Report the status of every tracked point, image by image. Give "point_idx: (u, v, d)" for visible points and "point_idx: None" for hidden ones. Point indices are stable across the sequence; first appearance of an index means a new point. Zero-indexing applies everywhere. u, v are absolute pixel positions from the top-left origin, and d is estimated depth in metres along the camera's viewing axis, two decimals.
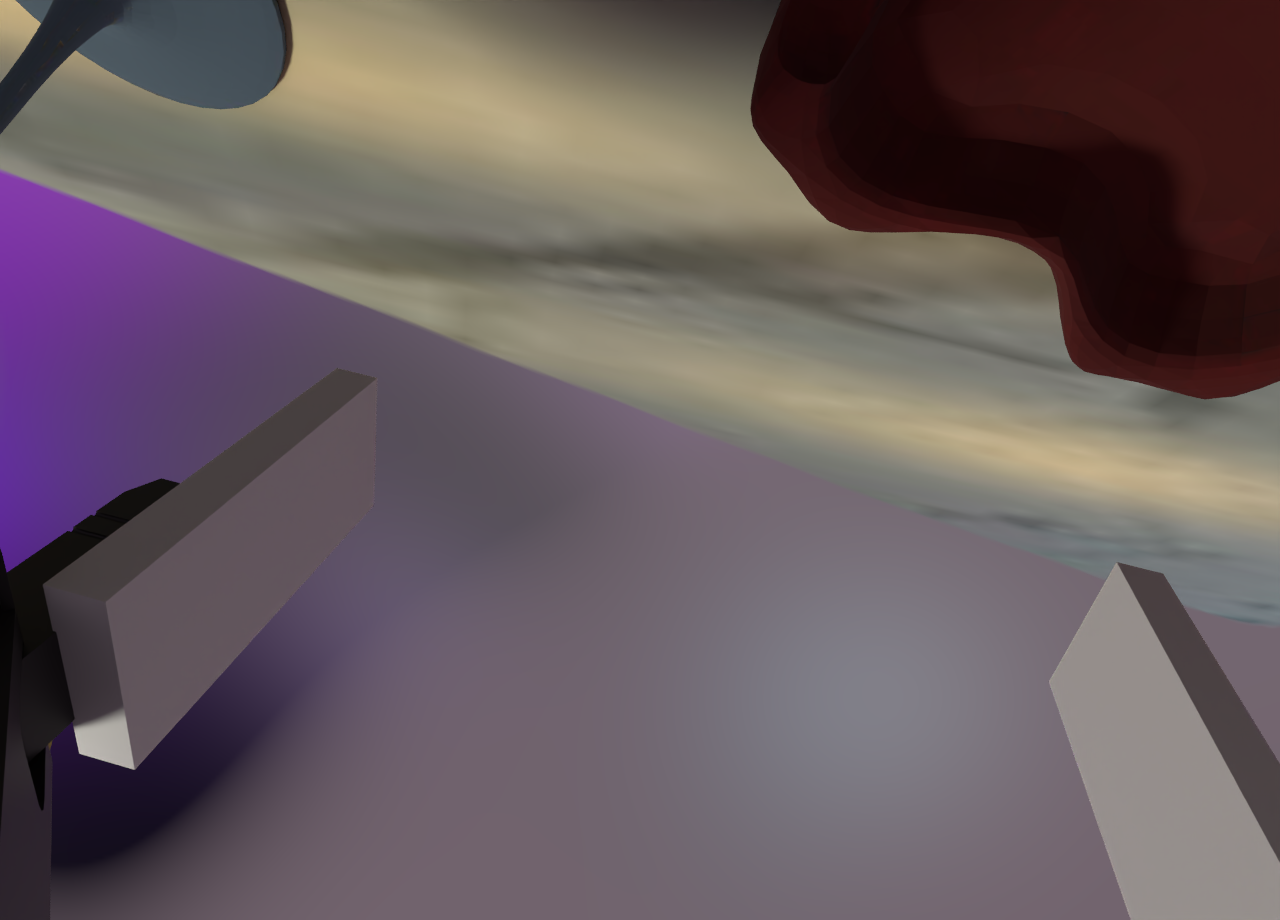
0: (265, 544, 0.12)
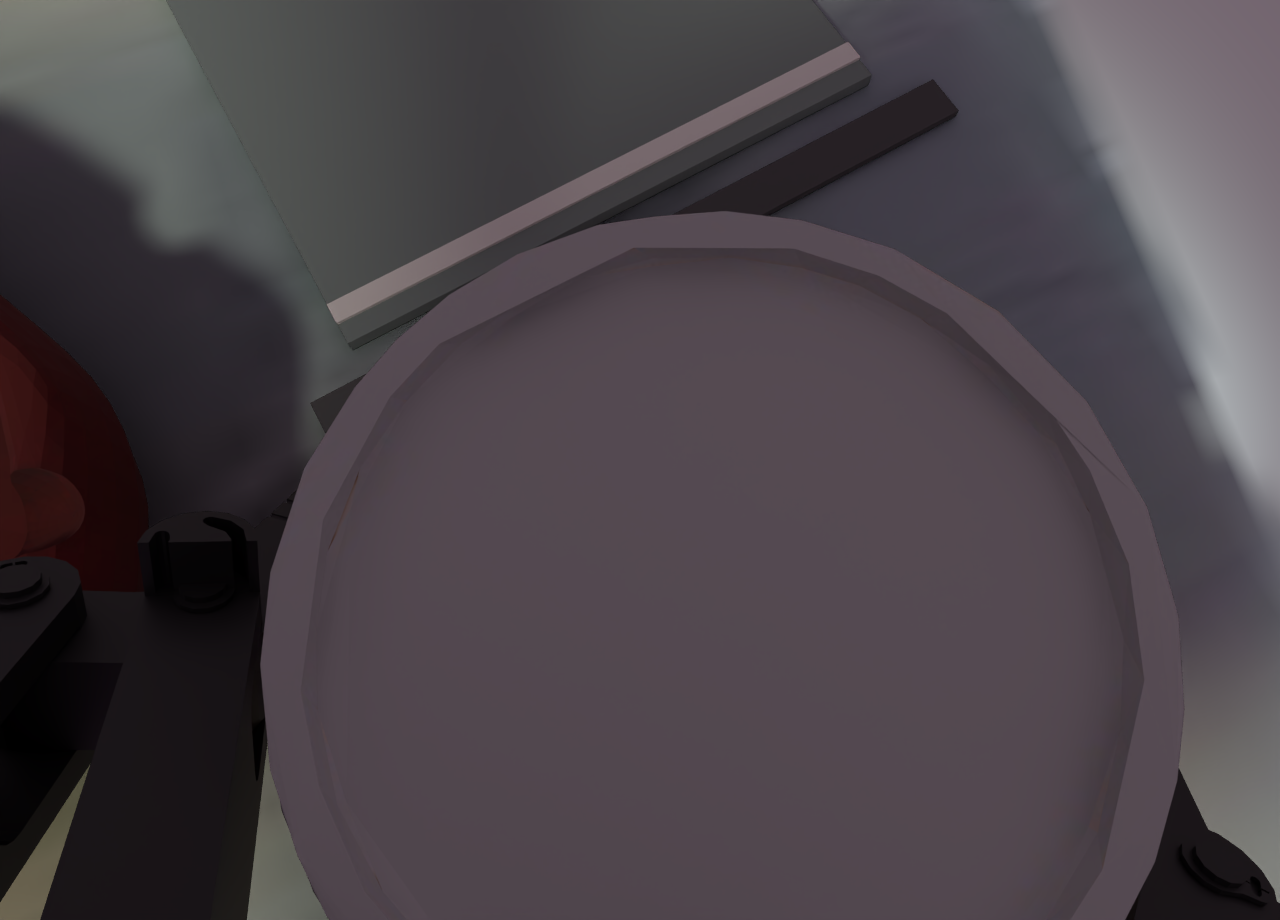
0: None
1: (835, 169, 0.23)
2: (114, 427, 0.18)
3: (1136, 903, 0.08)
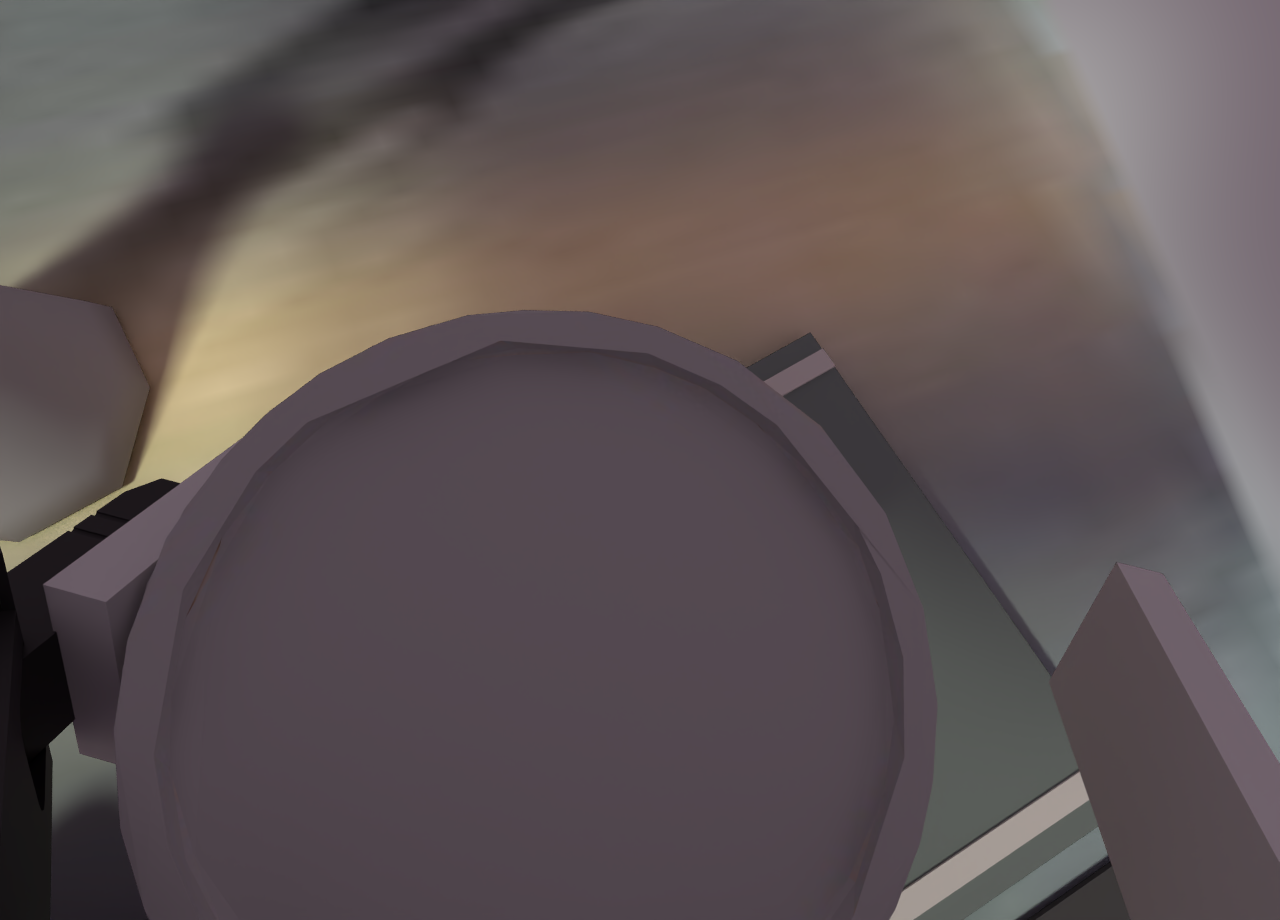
0: None
1: None
2: None
3: None
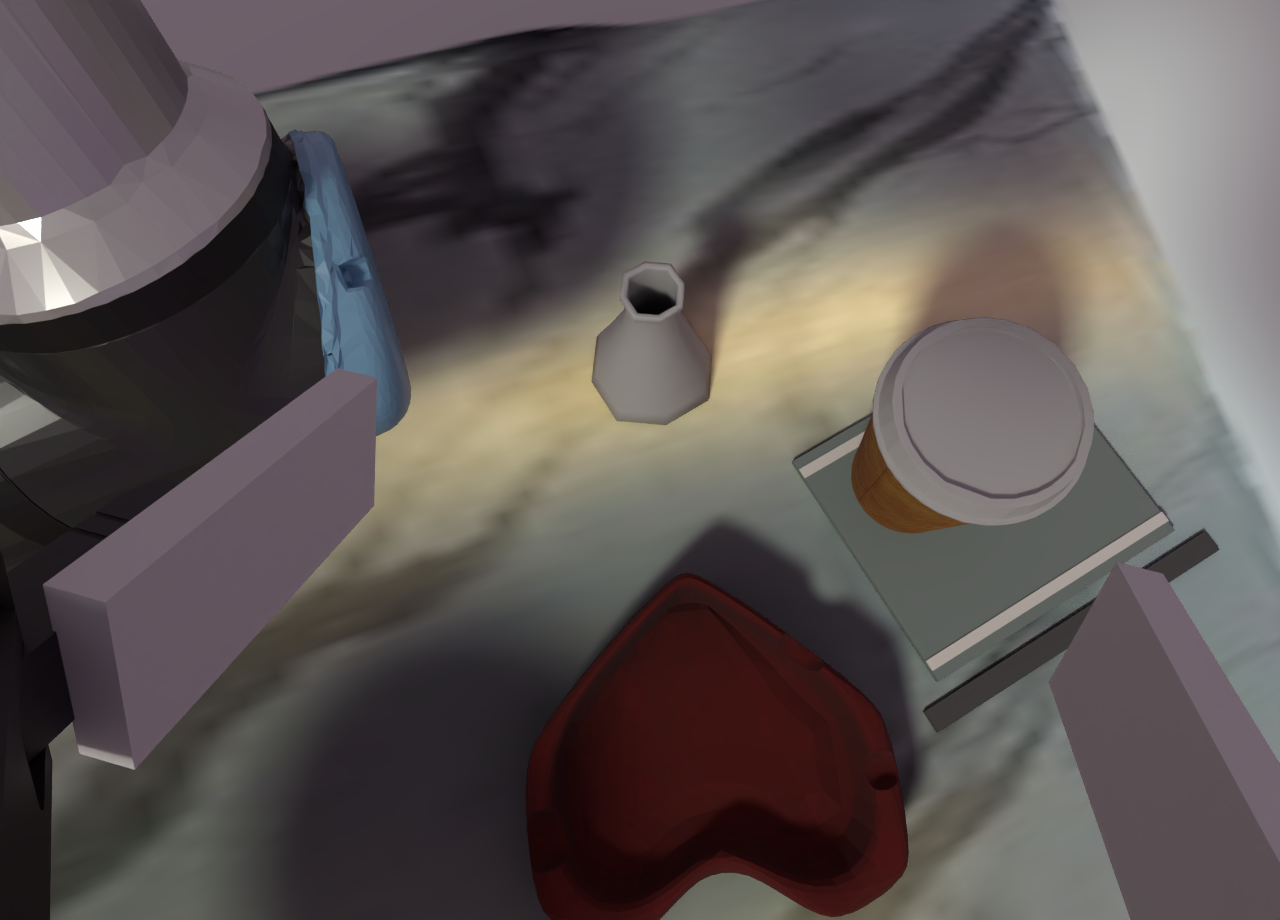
0: (265, 544, 0.12)
1: None
2: None
3: None
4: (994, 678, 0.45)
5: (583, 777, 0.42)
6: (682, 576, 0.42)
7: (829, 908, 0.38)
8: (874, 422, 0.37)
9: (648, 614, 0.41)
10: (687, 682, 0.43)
